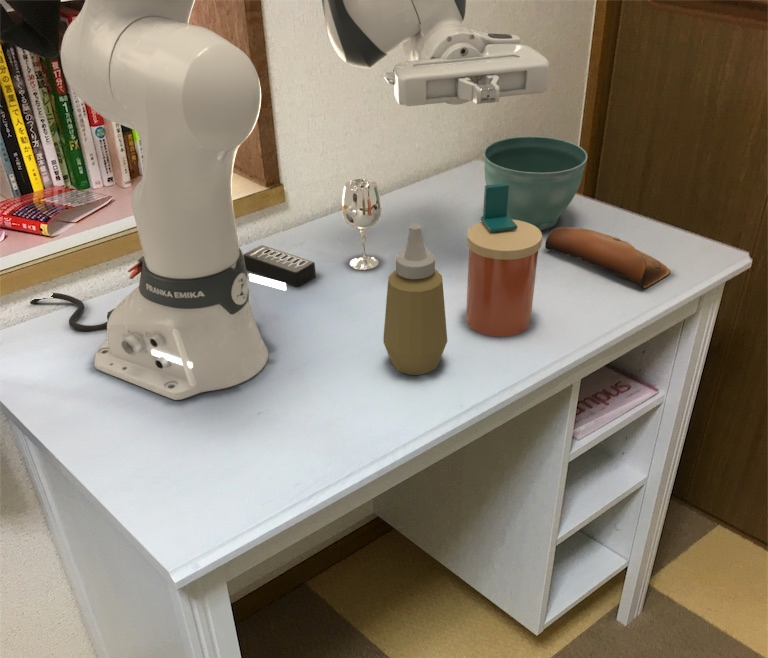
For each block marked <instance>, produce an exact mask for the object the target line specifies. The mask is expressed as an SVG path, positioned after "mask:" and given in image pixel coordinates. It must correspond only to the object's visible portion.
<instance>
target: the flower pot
mask: <svg viewBox="0 0 768 658" xmlns="http://www.w3.org/2000/svg"><path fill="white" fill-rule="evenodd" d="M482 153H483V162H484V180H485V181H484V182H485V186H487V185H495V184H503V183H507V184H508V185H509V192H508V205H507V214H508V215H509V217H510V218H511V219H513V220H519V221H523V222H527V223H530V224H532V225H534V226H536V227H537V228H538V229H539V230H540V231H545V230H548V229H550V228H553V227H554V226H555V225H556V224H557V222H558V220H559V217H560V216H561V214H563V212H565V210H566V209H567V208H568V206H570V204H571V202H572V201H573V200H574V197H575V196H576V194H577V192H578V190H579V188H580V185H581V182H582V179H583V176H584V170H585V167H586V165H587V161H588V153H587V151H586V150H585V149H584V148H582V146H580V145H578V144H577V143H574V142H571V141H568V140H565V139H561V138H557V137H548V136H540V135H539V136H538V135H537V136H536V135H531V136H530V135H527V136H526V135H525V136H513V137H506V138H502V139H499V140H495V141H493V142H491V143H489V144H488V145H487V146H486V147H485V148H484V149H483V152H482Z"/></svg>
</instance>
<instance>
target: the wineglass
mask: <svg viewBox="0 0 768 658" xmlns="http://www.w3.org/2000/svg"><path fill="white" fill-rule="evenodd" d="M341 199H342V201H341V211H342V216H343V219H344V221H345V222H346V224H347V225H348V226H349V227H351V228H353V229H356V230H359V239H360V241H361V256H357V257H354V258H352V259H351V260H350V262H349V266H350V267H351V268H352V269H355V270H358V271H366V270H367V271H369V270H371V269H375V268H377V267H378V266H379V265H380V262H379V260H378V259H377V258H376V257H374V256H368V255H367V253H366V239H367V232H366V231H367V230H366V229H370V228H373V227H374V226H375V225H377V223H378V222H379V220H380V219H381V216H382V199H381V195H380V191H379V187H378V183H377V182H376V181H375V180H373V179H369V178H356V179H355V178H354V179H351V180H349V181H347V182H345V184H344V187H343V192H342V198H341Z"/></svg>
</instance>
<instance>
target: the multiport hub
mask: <svg viewBox="0 0 768 658" xmlns="http://www.w3.org/2000/svg"><path fill="white" fill-rule="evenodd" d="M243 255H244V260H245V265H246V271H248V272H251V273H254V274H256V275H258V276H261V277H265V278H269V279H272V280H276V281H280V282H284V283H286V285H288V286H291V287H293V288H300V287H302V286H305V285H306V284H307V283H309V282H311V281H312V280H314V279H315V278H316V277H317V275H316V274H317V272H316V263H315V261H312V260H309V259H306V258H303V257H300V256H297V255H296V254H295V255H294V254H291V253H288V252H285V251H282V250H279V249H276V248H273V247H270V246H267V245H263V244H262V245H258V246H257V247H255V248H253V249H250V250H249V251H248V252H247V251H246V253H243Z"/></svg>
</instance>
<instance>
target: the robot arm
mask: <svg viewBox="0 0 768 658" xmlns="http://www.w3.org/2000/svg"><path fill="white" fill-rule="evenodd" d="M195 2H196V0H84V3H83V6H82V8H81V10H80V11H79V13H78V15H77V16H76V17H75V18H74V19H73V20H72V21H71V22H70V23H69V25H68V27H67V28H66V30H65V31H64V34H63V38H62V40H61V46H60V62H61V67H62V68H61V69H62V71H63V75H64V77H65V80H66V82H67V84H68V86H69V87H70V89H71V90H72V91H73V92H74V94H75V96H77V97H78V98H79V99H81V100H82V101H83V102H84V103H85V105H86V106H88V107H89V108H90V109H92V110H93V111H94V112H96V113H97V114H98V115H100V116H101V117H102V118H104V119H105V120H108V121H109V122H112V123H115V124H117V125H121V126H124V127H126V128H128V129H131V130H134V131H135V132H136V133H137V136H138V137H139V140H140V142H141V147H142V159H143V160H142V161H143V162H142V165H143V166H142V177H141V180H140V181H138V183H137V184H136V185H135V187H134V189H133V191H132V194H131V200H130V202H131V205H130V206H131V209H132V213H133V218H134V221H135V226H136V230H137V234H138V238H139V242H140V247H141V251H142V254H143V256H141V257H140V258H139V259H138V260H137V261H138V262H137V263H136V264H134V265H133V266H132V267H130V268H129V269H128V270H127V273H131V274H130V275H129V277H128V278H129V279H130V280H132V279H134V278H135V277H136V276H138V275H139V274H140V276H139V283H138V286H137V287H136V288H134V290H132V291H131V292H130V293H129V294H128V295H127V296H126V297H125V298H124V299H122V300H121V301H120V302H119V304H118V305H116V307H114V308H113V309H111V310H109V311H108V312H107V315H106V319H107V321H106V322H104V323H101V324H95V325H86V324H80V323H77V322H76V320H77V319H78V318H79V317H80V316H81V314H82V313H83V312H84V310H85V305H84V302H83V301H82V300H80V299H79V298H76V297H74V296H71V295H68V294H64V293H59V292H52V293H53V295H52V296H51V297H53V298H52V299H56V300H63V301H66V302H70V303H72V304H74V305H76V306H77V308H76V310H75V311H74V312H73V313H72V314H71V315H70V317H69V319H68V325H69V326H70V327H71V328H72V329H75V330H77V331H82V332H96V331H102V330H103V331H104V330H106V335H107V337H106V340H105V341H104V342H103V343H102V344H101V345H100V347H99V348H98V350H97V352H96V354H95V356H94V367H95V369H96V370H98V371H100V372H102V373H105V374H108V375H109V376H113V377H115V378H117V379H120V380H123V381H126V382H128V383H131V384H133V385H136V386H138V387H141V388H143V389H146V390H148V391H150V392H153V393H156V394H158V395H161V396H163V397H166V398H167V399H171V400H174V401H180V400H185V399H187V398H191V397H194V396H196V395H198V394H202V393H206V392H212V391H219V390H223V389H227V388H231V387H234V386H238V385H240V384H242V383H244V382H246V381H248V380H250V379H252V378H254V377H255V376H256V375H257V374H258V373H260V372H261V371H262V370H263V368H264V367H265V366H266V365H267V363H268V359H269V349H268V348H267V346H266V344H265V342H264V340H263V338H262V335H261V332H260V330H259V328H258V325H257V323H256V319H255V317H254V312H253V310H252V306H251V302H250V289H249V282H251V283H256V284H259V285H263V286H267V287H271V288H274V289H277V290H281V291H287V284H286V283H284V282H280V281H277V280H274V279H271V278H268V277H265V276H262V275H259V274H255V273H254V274H253V273H248V272H247V271H248V270H246V265H245V260H244V251H243V249H242V248H241V247H240V246H239V245H240V244H239V239H238V232H237V225H236V216H235V209H234V202H233V201H234V200H233V173H234V167H235V166H234V165H235V159H236V156H237V152H238V149H239V147H240V146H241V145H242V144H243V143H244V142H245V141H246V140H247V139H248V138H249V136H250V135H251V133H252V132H253V130H254V128H255V127H256V124H257V121H258V119H259V115H260V112H261V111H260V110H261V104H262V88H261V83H260V78H259V74H258V72H257V70H256V66H255V65H254V64H253V62H252V60H251V58H250V57H249V56H248V55H247V54H246V53H245V52H244V51H243V50H242V49H240V48H239V47H238V46H236V45H234V44H233V43H231V42H230V41H228V40H227V39H226V38H224V37H223V36H220V35H219V34H217V33H216V32H214V31H212V30H210V29H209V28H207V27H204V26H199V25H194V24H191V23H189V22H190V18H191V15H192V12H193V8H194V5H195ZM321 5H322V11H323V15H324V22H325V28H326V32H327V35H328V38H329V41H330V43H331V45H332V47H333V49H334V51H335V52H336V54H337V55H338V57H339V58H340V59H341V60H342V62H343V63H344V64H346V65H349V66H352V67H356V68H360V69H371V68H372V67H373V66H375V65H376V64H378V63H379V62H380V61H381V60H382V59H383V58H385V57H386V56H387V55H388V54H389V53H390V52H392V51H393V50H394V49H396V48H397V47H399V46H401V45H402V50H403V52H404V56H405V58H406V60H405V61H400V62H398V63H396V64H395V65H394V67H393V69H392V71H389V72H388V71H387V72H385V73H384V80H385V82H386V83H387V84H388V85H390V86H393V89H394V90H393V92H394V97H395V100H396V102H397V103H398V105H400V106H404V107H415V106H426V105H433V104H434V105H435V104H444V103H445V104H448V105H452V106H453V105H454V106H457V105H458V106H459V105H464V104H466V103H468V102H470V101H471V102H473V103H474V104H475V105H479V104H490V103H491V104H492V103H498V102H500V98H504V97H514V96H522V95H523V96H524V95H533V94H541V93H544V92H545V91H546V90H547V89H548V86H549V85H548V84H549V81H550V80H549V79H550V61H549V60H548V58H546V57H545V56H544V55H543V54H542V53H540V52H539V51H538V50H536V49H534V48H533V47H531V46H529V45H526V44H522V43H521V41H522V40H521V37H520V36H518V35H516V34H508V33H489V32H488V33H487V32H483V31H479V30H475V29H472V28H470V29H468V28H467V27H466V26H465V25H463V22H464V20H465V15H466V8H467V0H321ZM31 300H32V299H31ZM31 300H30V302H29V304H30V305H36V304H37V303H38V302H40V301H41V300H47V298H43V299H34V300H32V301H31Z"/></svg>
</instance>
